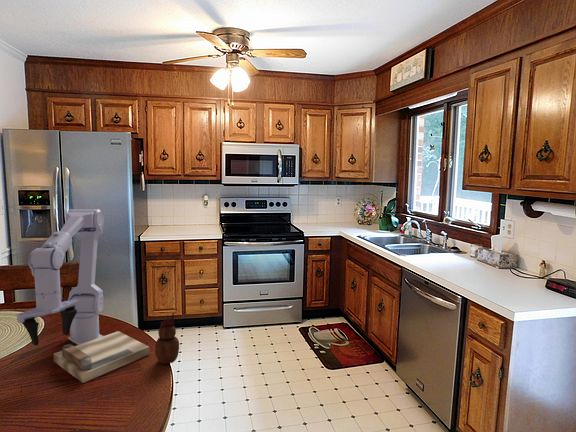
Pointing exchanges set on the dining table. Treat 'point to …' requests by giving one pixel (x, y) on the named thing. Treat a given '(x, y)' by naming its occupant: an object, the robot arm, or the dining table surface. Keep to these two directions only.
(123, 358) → the maple seat
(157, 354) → the wooden figurine
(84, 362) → the walnut leg
